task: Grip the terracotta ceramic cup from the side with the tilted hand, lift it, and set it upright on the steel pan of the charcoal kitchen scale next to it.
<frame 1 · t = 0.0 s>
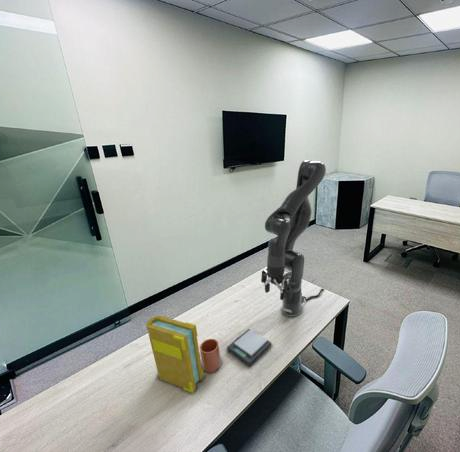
hand: (274, 295, 118), 17 cm above the table, tool pointing down, fingers open, 8 cm apart
book: (179, 378, 100), on the table
cup: (211, 364, 105), on the table
scale: (249, 348, 113), on the table
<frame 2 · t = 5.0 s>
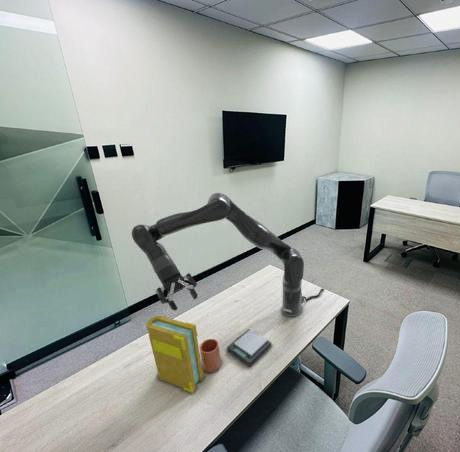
hand: (186, 304, 102), 24 cm above the table, tool tilted 45°, fingers open, 8 cm apart
nothing on the table moved.
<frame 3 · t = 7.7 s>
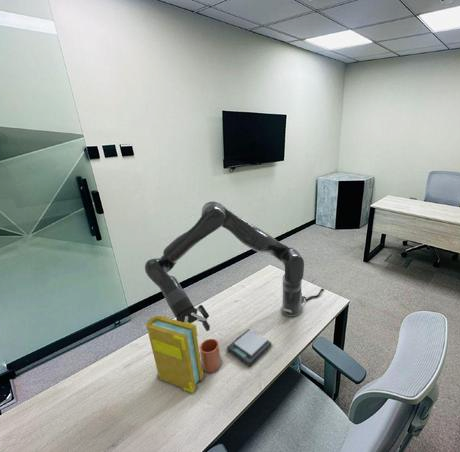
hand: (199, 336, 104), 11 cm above the table, tool tilted 45°, fingers open, 8 cm apart
nothing on the table moved.
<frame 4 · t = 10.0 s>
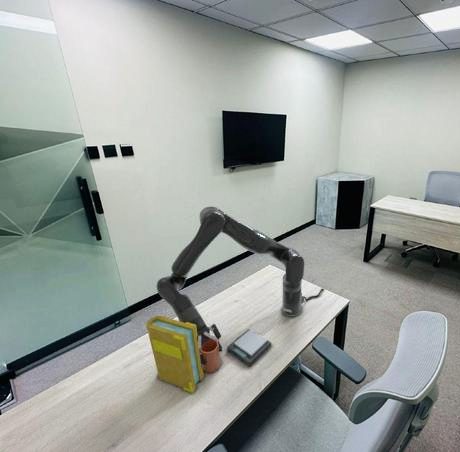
hand: (213, 357, 102), 5 cm above the table, tool tilted 45°, fingers closed on cup, 7 cm apart
cup: (211, 364, 105), on the table, touching gripper
everything else where it was.
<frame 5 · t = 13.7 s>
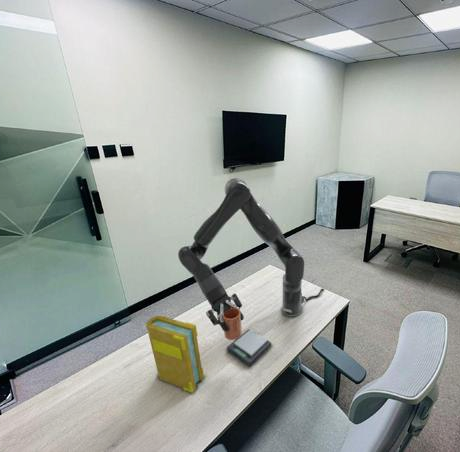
hand: (235, 325, 103), 16 cm above the table, tool tilted 45°, fingers closed on cup, 7 cm apart
cup: (233, 333, 105), point 11 cm above the table, touching gripper
everything else where it was.
when the fingers open (8 cm above the table, at t = 17.6 s): cup stays where it is, resting on scale.
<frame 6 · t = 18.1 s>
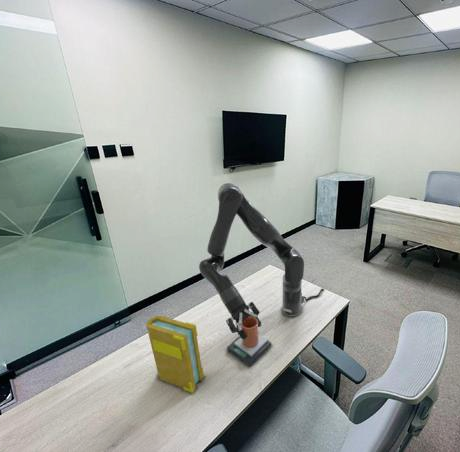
hand: (252, 332, 109), 9 cm above the table, tool tilted 45°, fingers open, 8 cm apart
cup: (250, 341, 112), point 3 cm above the table, touching scale
everything else where it was.
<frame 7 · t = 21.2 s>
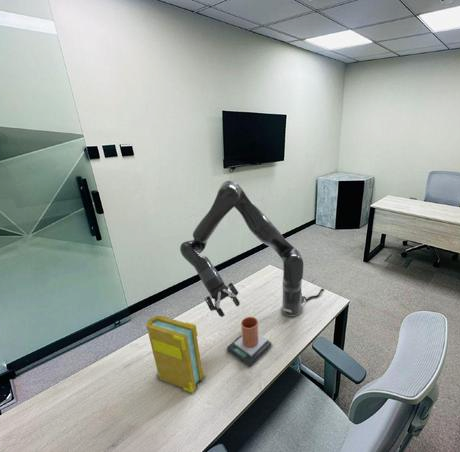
hand: (231, 310, 115), 13 cm above the table, tool tilted 45°, fingers open, 8 cm apart
nothing on the table moved.
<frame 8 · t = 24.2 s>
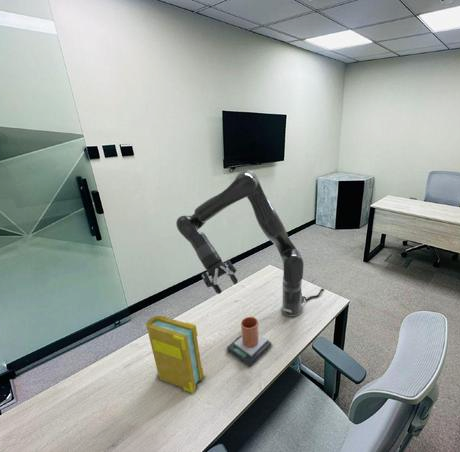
hand: (228, 288, 110), 25 cm above the table, tool tilted 45°, fingers open, 8 cm apart
nothing on the table moved.
at the end: cup inside the target area on the scale (0.1 cm from its centre), point 3.0 cm above the scale's base; cup tilted 0°; the gripper is holding nothing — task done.
